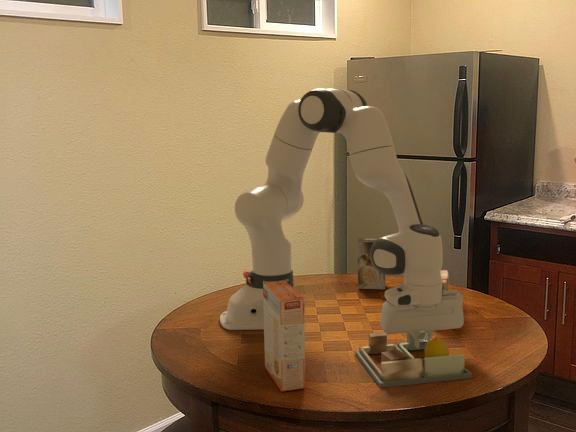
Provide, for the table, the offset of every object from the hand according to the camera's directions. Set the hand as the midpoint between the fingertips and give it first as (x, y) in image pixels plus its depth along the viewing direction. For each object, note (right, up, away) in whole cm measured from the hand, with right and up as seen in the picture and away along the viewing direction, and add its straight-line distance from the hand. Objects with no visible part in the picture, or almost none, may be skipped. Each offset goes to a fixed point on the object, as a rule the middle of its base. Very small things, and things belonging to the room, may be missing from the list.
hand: (421, 347), depth 154 cm
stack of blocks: (+11, +4, +32) cm, 34 cm away
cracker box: (-33, -5, -11) cm, 35 cm away
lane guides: (-4, -3, -5) cm, 7 cm away
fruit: (+2, -4, -8) cm, 9 cm away
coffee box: (-5, +8, +58) cm, 58 cm away
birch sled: (-9, -3, -5) cm, 11 cm away
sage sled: (+1, -2, -4) cm, 4 cm away
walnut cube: (-8, -4, -9) cm, 13 cm away
